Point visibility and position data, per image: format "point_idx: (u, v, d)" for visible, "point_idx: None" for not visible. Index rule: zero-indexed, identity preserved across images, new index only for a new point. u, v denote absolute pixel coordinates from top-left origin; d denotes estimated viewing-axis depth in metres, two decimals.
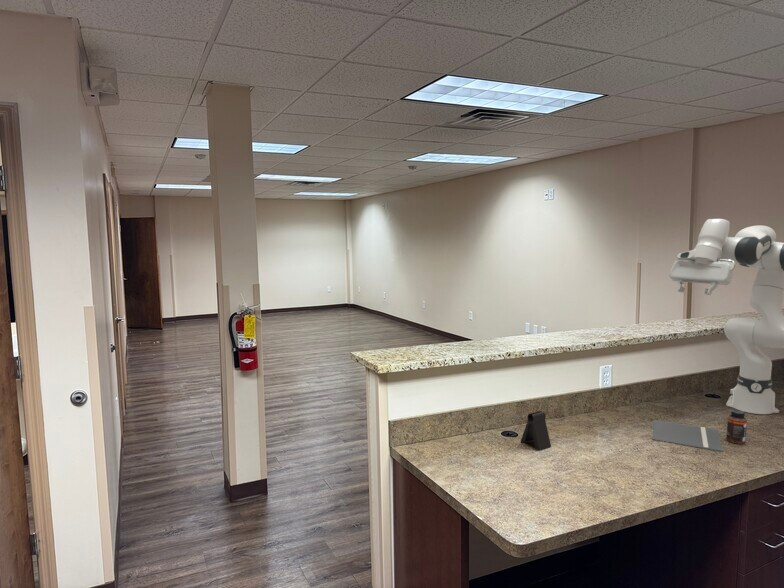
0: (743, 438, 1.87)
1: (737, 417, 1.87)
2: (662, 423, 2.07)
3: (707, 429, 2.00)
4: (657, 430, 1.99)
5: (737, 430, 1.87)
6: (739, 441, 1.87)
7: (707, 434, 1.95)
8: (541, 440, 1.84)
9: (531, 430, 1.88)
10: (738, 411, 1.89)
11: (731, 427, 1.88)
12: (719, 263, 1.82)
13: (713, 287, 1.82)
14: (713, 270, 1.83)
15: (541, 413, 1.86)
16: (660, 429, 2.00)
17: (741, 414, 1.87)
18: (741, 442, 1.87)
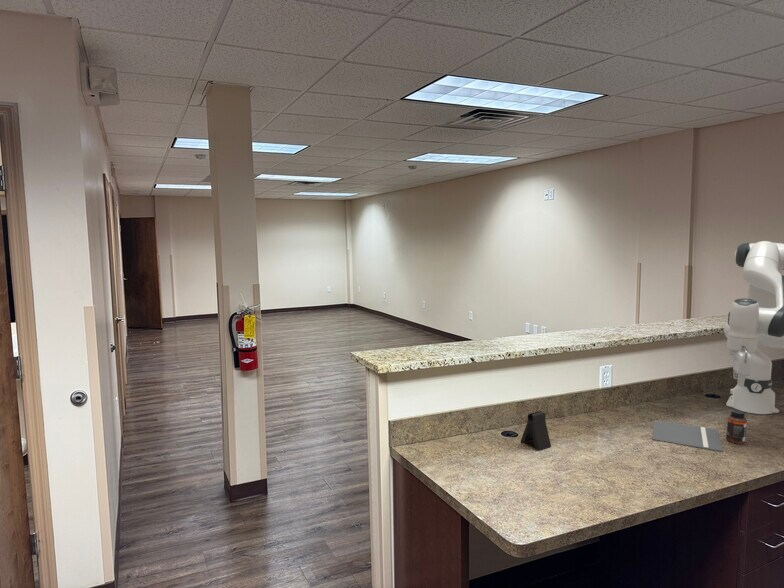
0: (743, 438, 1.87)
1: (737, 417, 1.87)
2: (662, 423, 2.07)
3: (707, 429, 2.00)
4: (657, 430, 1.99)
5: (737, 430, 1.87)
6: (739, 441, 1.87)
7: (707, 434, 1.95)
8: (541, 440, 1.84)
9: (531, 430, 1.88)
10: (738, 411, 1.89)
11: (731, 427, 1.88)
12: (737, 354, 1.81)
13: (740, 378, 1.82)
14: (736, 361, 1.83)
15: (541, 413, 1.86)
16: (660, 429, 2.00)
17: (741, 414, 1.87)
18: (741, 442, 1.87)
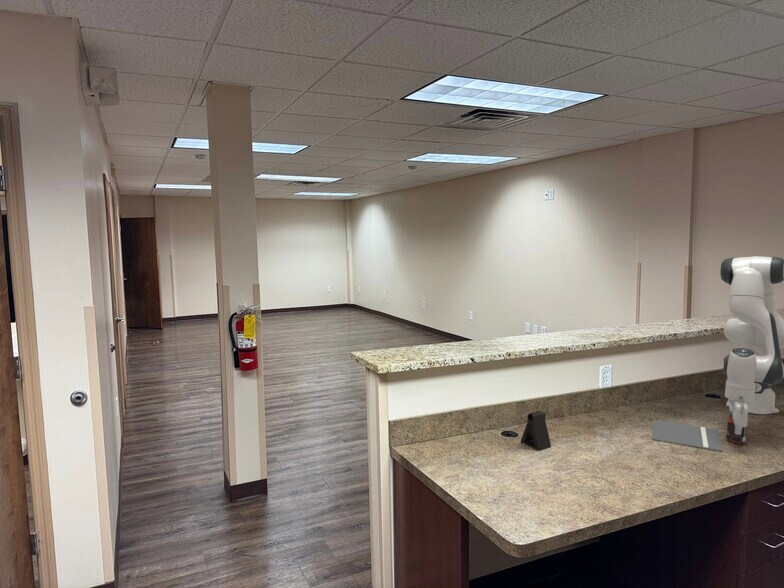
0: (743, 438, 1.87)
1: None
2: (662, 423, 2.07)
3: (707, 429, 2.00)
4: (657, 430, 1.99)
5: None
6: (739, 441, 1.87)
7: (707, 434, 1.95)
8: (541, 440, 1.84)
9: (531, 430, 1.88)
10: None
11: (731, 427, 1.88)
12: (735, 404, 1.84)
13: (737, 427, 1.85)
14: (734, 411, 1.85)
15: (541, 413, 1.86)
16: (660, 429, 2.00)
17: None
18: (741, 442, 1.87)
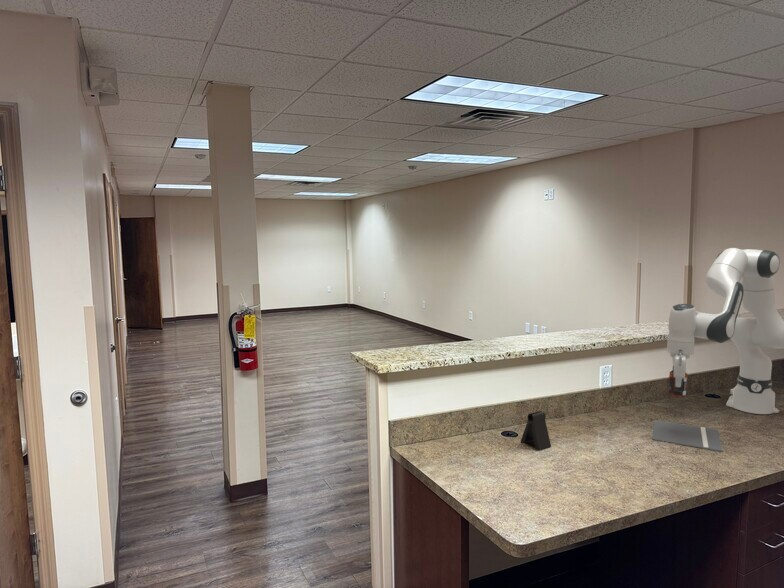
0: (684, 392, 1.93)
1: None
2: (662, 423, 2.07)
3: (707, 429, 2.00)
4: (657, 430, 1.99)
5: None
6: (679, 395, 1.93)
7: (707, 434, 1.95)
8: (541, 440, 1.84)
9: (531, 430, 1.88)
10: None
11: (672, 381, 1.94)
12: (674, 357, 1.89)
13: (677, 380, 1.90)
14: None
15: (541, 413, 1.86)
16: (660, 429, 2.00)
17: None
18: (681, 396, 1.93)
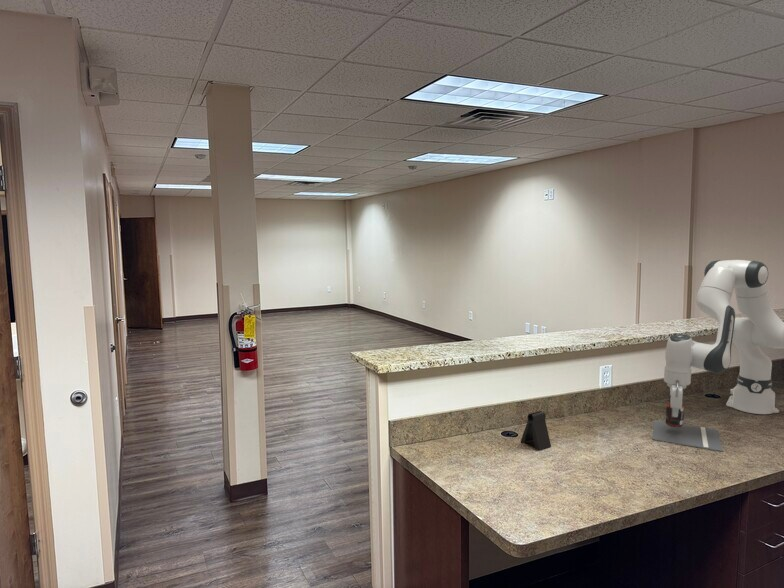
0: (680, 422, 1.94)
1: None
2: (662, 423, 2.07)
3: (707, 429, 2.00)
4: (657, 430, 1.99)
5: None
6: (676, 424, 1.94)
7: (707, 434, 1.95)
8: (541, 440, 1.84)
9: (531, 430, 1.88)
10: (676, 396, 1.96)
11: (669, 411, 1.96)
12: (671, 388, 1.91)
13: (674, 410, 1.92)
14: None
15: (541, 413, 1.86)
16: (660, 429, 2.00)
17: None
18: (678, 425, 1.94)
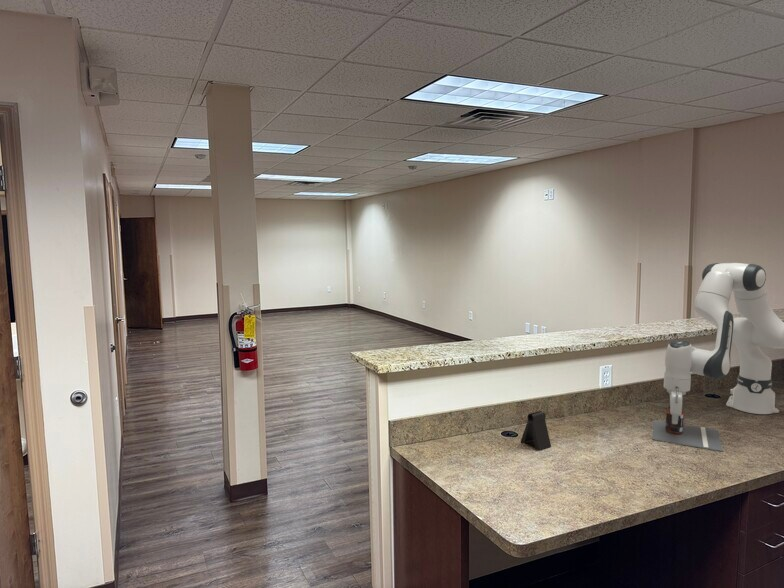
0: (680, 429, 1.95)
1: None
2: (662, 423, 2.07)
3: (707, 429, 2.00)
4: (657, 430, 1.99)
5: None
6: (676, 431, 1.95)
7: (707, 434, 1.95)
8: (541, 440, 1.84)
9: (531, 430, 1.88)
10: None
11: (669, 418, 1.96)
12: (671, 394, 1.91)
13: (674, 417, 1.92)
14: None
15: (541, 413, 1.86)
16: (660, 429, 2.00)
17: None
18: (678, 432, 1.95)
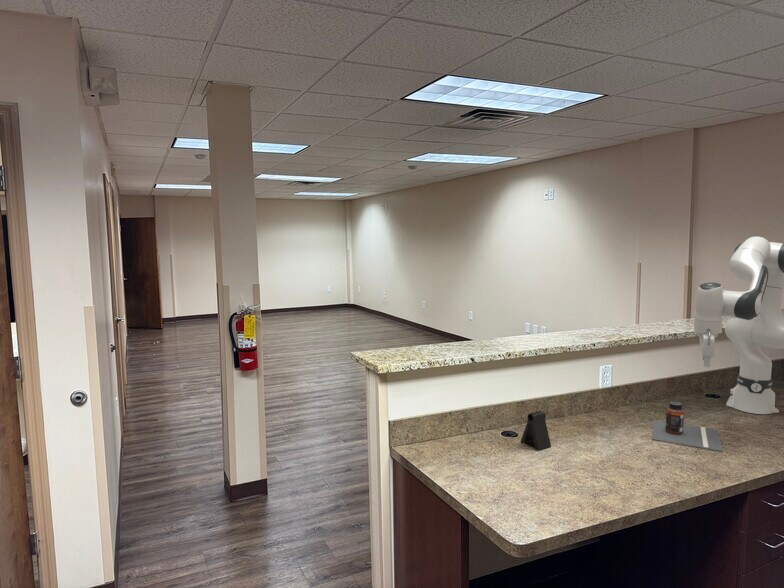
0: (680, 429, 1.95)
1: (674, 408, 1.95)
2: (662, 423, 2.07)
3: (707, 429, 2.00)
4: (657, 430, 1.99)
5: (675, 421, 1.95)
6: (676, 431, 1.95)
7: (707, 434, 1.95)
8: (541, 440, 1.84)
9: (531, 430, 1.88)
10: (676, 403, 1.97)
11: (669, 418, 1.96)
12: (702, 336, 1.88)
13: (706, 360, 1.89)
14: (702, 344, 1.90)
15: (541, 413, 1.86)
16: (660, 429, 2.00)
17: (678, 405, 1.95)
18: (678, 432, 1.95)
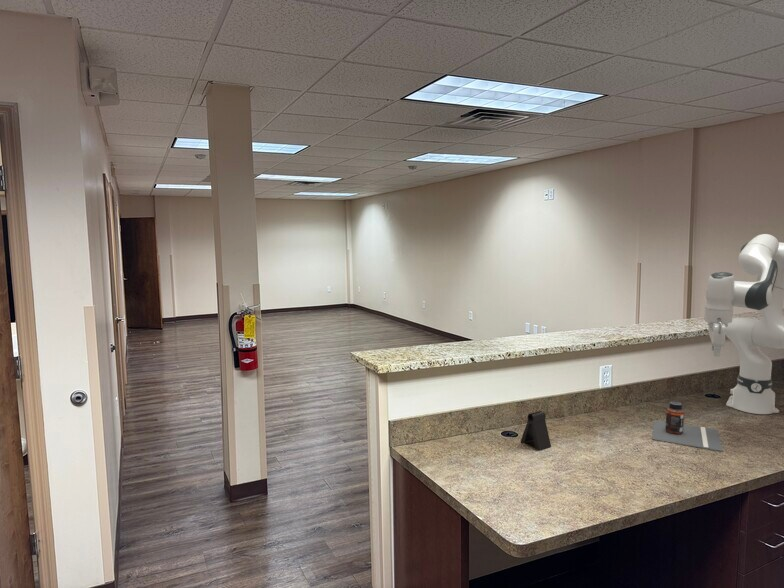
0: (680, 429, 1.95)
1: (674, 408, 1.95)
2: (662, 423, 2.07)
3: (707, 429, 2.00)
4: (657, 430, 1.99)
5: (675, 421, 1.95)
6: (676, 431, 1.95)
7: (707, 434, 1.95)
8: (541, 440, 1.84)
9: (531, 430, 1.88)
10: (676, 403, 1.97)
11: (669, 418, 1.96)
12: (713, 325, 1.88)
13: (716, 349, 1.88)
14: (712, 333, 1.89)
15: (541, 413, 1.86)
16: (660, 429, 2.00)
17: (678, 405, 1.95)
18: (678, 432, 1.95)
